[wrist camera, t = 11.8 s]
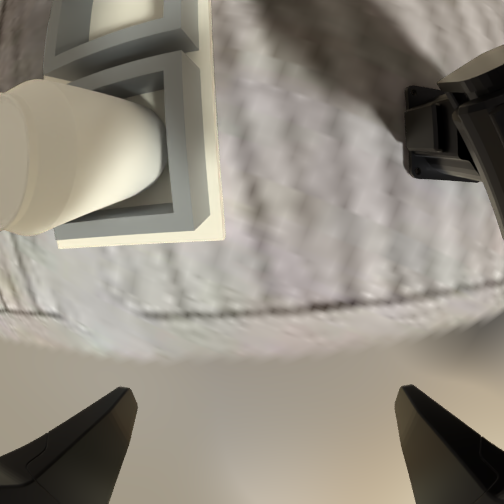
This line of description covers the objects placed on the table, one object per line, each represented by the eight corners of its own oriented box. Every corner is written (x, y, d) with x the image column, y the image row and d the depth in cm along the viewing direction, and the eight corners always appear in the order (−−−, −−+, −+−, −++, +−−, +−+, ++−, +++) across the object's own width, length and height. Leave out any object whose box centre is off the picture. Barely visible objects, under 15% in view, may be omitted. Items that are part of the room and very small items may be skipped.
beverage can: (90, 189, 19) (-44, 235, 8) (100, 104, 17) (-38, 88, 6) (167, 201, 19) (44, 267, 8) (181, 107, 17) (59, 59, 6)
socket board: (209, -56, 13) (195, -91, 8) (226, 236, 20) (210, 261, 16) (61, -6, 14) (29, -23, 10) (65, 245, 22) (27, 266, 17)
